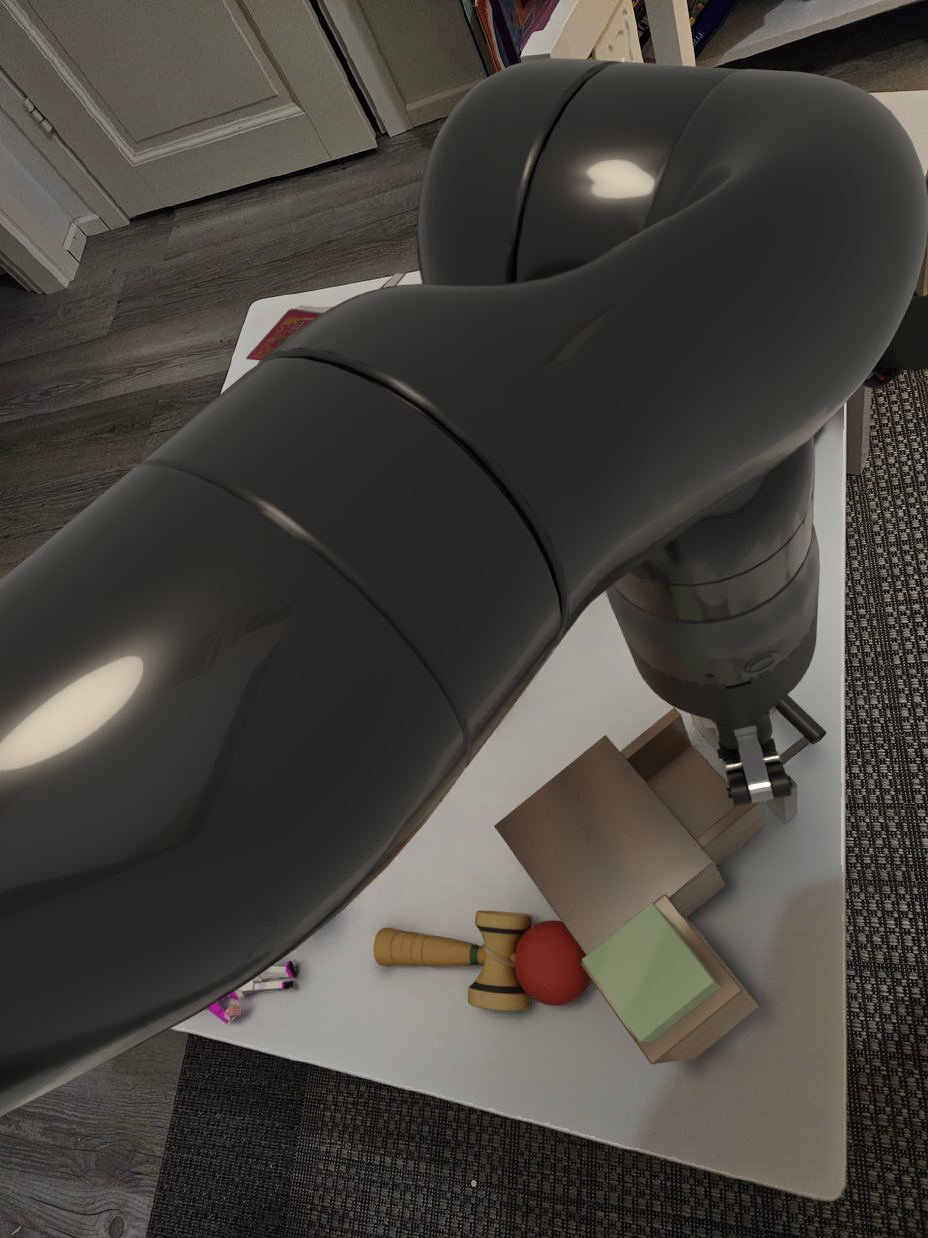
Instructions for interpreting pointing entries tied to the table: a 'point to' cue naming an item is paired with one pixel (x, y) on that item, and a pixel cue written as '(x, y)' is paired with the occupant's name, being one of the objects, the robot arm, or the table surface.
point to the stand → (704, 1019)
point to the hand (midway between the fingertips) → (738, 730)
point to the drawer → (710, 780)
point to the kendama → (499, 960)
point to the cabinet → (606, 847)
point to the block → (650, 974)
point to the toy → (904, 346)
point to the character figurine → (256, 989)
